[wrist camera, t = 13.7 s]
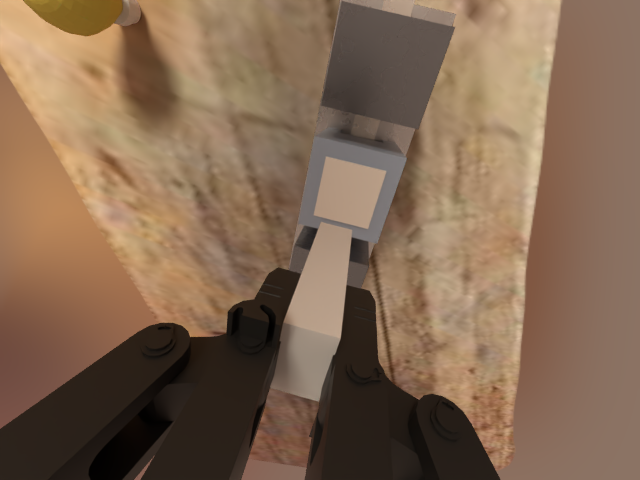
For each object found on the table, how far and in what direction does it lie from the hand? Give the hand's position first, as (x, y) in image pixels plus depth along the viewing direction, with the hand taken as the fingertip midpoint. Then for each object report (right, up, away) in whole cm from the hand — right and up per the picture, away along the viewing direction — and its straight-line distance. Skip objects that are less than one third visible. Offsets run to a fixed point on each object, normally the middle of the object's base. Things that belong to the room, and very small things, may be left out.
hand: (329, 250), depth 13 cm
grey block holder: (+3, +9, +18) cm, 20 cm away
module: (+3, +8, +17) cm, 19 cm away
